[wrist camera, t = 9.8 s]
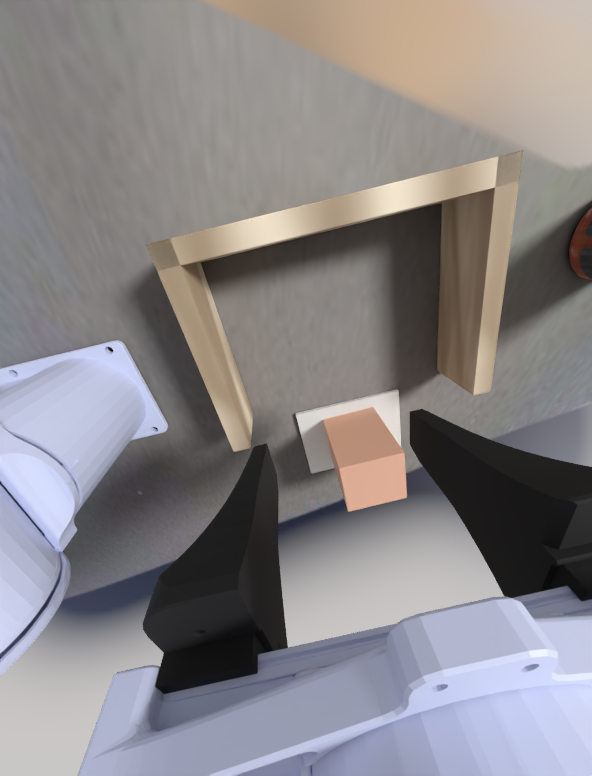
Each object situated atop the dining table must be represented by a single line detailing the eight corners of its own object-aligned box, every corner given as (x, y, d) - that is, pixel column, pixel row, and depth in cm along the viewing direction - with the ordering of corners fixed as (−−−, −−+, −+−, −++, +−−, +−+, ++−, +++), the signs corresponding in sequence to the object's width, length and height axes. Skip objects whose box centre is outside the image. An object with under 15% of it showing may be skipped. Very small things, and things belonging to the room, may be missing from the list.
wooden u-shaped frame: (239, 417, 23) (233, 452, 19) (174, 246, 17) (145, 244, 13) (451, 366, 23) (490, 391, 19) (461, 175, 17) (523, 150, 13)
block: (331, 457, 26) (348, 511, 20) (322, 419, 23) (339, 468, 18) (377, 446, 25) (406, 497, 20) (373, 406, 23) (404, 452, 18)
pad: (310, 471, 26) (311, 473, 26) (295, 413, 23) (295, 414, 23) (400, 450, 26) (401, 452, 26) (397, 389, 23) (398, 390, 23)
